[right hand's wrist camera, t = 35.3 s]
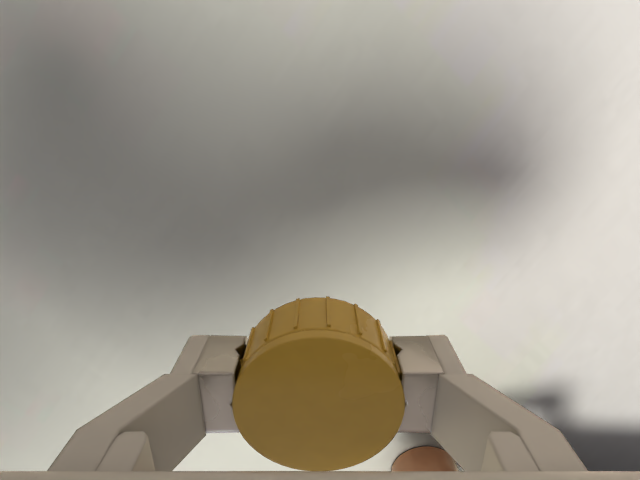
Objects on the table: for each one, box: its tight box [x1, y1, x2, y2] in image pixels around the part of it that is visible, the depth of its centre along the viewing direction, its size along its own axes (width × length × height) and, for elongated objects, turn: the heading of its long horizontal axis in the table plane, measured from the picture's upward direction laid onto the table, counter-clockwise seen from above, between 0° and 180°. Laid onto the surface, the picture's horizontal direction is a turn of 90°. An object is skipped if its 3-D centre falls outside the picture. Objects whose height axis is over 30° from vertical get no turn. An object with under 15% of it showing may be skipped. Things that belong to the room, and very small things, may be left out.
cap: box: [232, 296, 405, 471], centre depth 10 cm, size 4×4×2 cm
